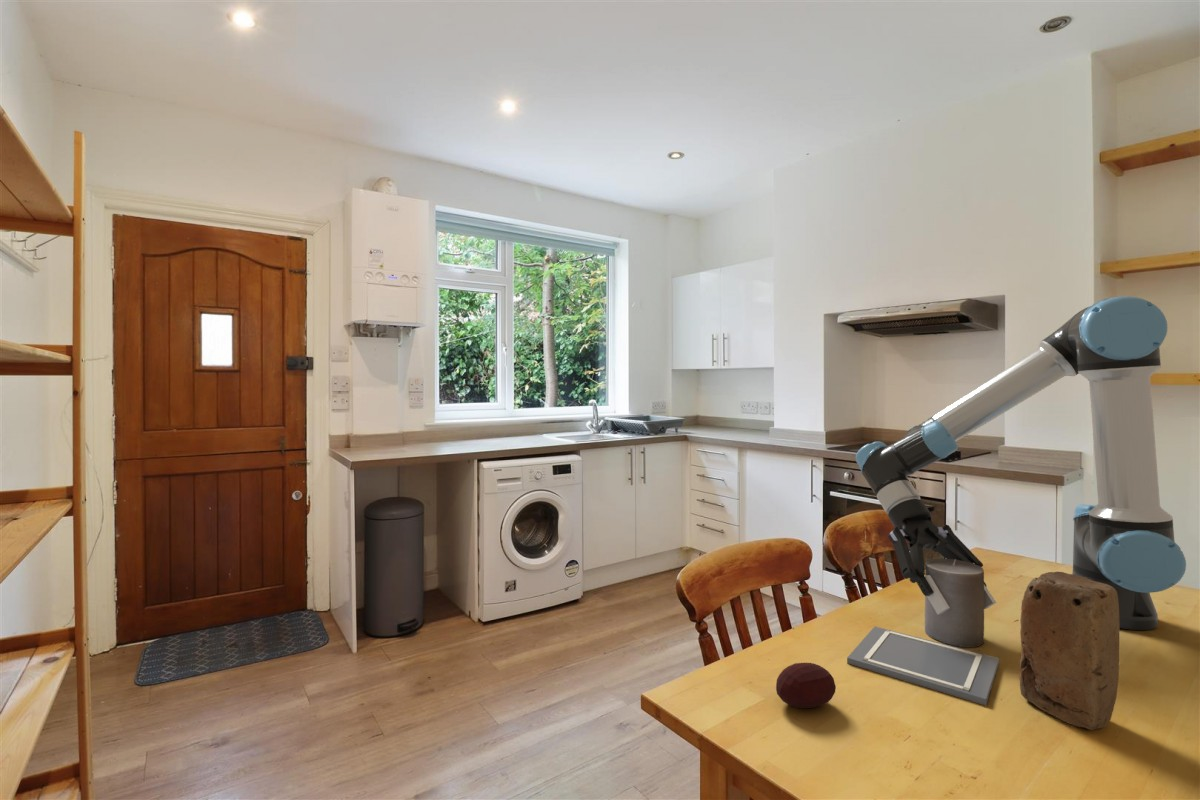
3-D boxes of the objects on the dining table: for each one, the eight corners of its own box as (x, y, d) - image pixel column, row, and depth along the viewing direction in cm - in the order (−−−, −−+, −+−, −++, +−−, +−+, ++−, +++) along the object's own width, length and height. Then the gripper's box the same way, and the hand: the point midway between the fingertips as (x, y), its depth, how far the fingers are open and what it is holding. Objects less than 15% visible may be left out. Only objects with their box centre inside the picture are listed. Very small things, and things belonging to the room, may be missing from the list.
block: (1123, 726, 81) (1127, 585, 81) (1094, 739, 78) (1098, 593, 78) (1037, 688, 91) (1041, 563, 91) (1009, 699, 88) (1012, 570, 87)
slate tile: (998, 663, 99) (998, 657, 99) (985, 705, 86) (986, 698, 86) (874, 631, 112) (874, 625, 112) (847, 663, 99) (847, 656, 99)
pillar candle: (975, 629, 113) (975, 554, 113) (991, 651, 104) (991, 568, 104) (919, 623, 116) (920, 549, 116) (930, 643, 107) (930, 563, 107)
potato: (845, 715, 83) (846, 674, 83) (788, 721, 82) (788, 680, 82) (817, 688, 91) (817, 651, 91) (764, 693, 89) (764, 655, 89)
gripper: (937, 514, 127) (1001, 611, 113) (849, 519, 121) (905, 623, 107) (958, 494, 122) (1028, 594, 107) (867, 499, 116) (929, 605, 101)
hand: (967, 608), depth 107 cm, fingers open, 10 cm apart
